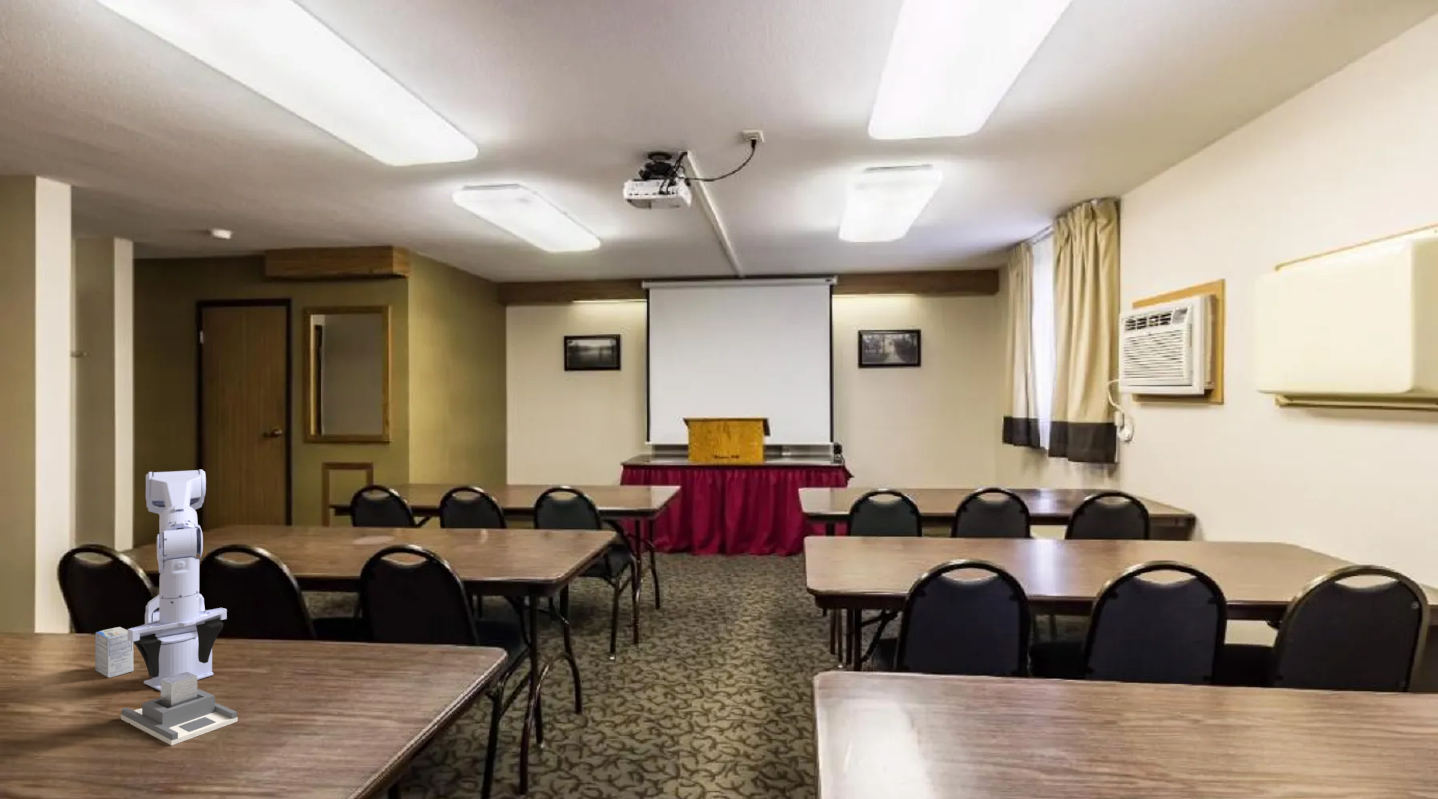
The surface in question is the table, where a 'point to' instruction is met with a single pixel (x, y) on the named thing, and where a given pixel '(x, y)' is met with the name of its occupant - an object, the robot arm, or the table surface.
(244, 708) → the table surface
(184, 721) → the frame
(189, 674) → the steel square block
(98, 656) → the medicine box
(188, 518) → the robot arm
